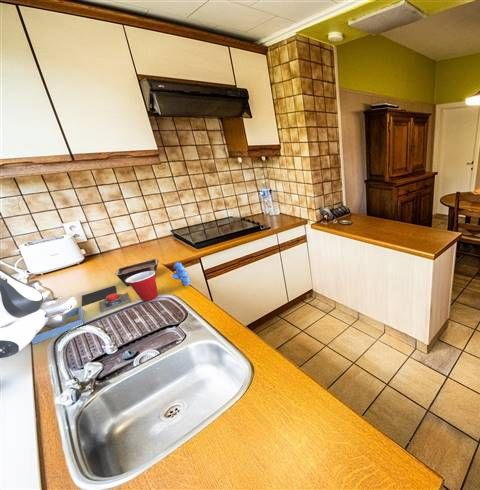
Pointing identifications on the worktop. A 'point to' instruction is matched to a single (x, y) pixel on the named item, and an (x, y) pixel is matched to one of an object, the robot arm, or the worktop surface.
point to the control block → (114, 302)
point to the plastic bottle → (47, 297)
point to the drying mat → (97, 295)
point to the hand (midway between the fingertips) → (45, 301)
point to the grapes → (181, 274)
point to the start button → (112, 296)
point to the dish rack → (63, 328)
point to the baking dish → (136, 269)
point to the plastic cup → (144, 285)
